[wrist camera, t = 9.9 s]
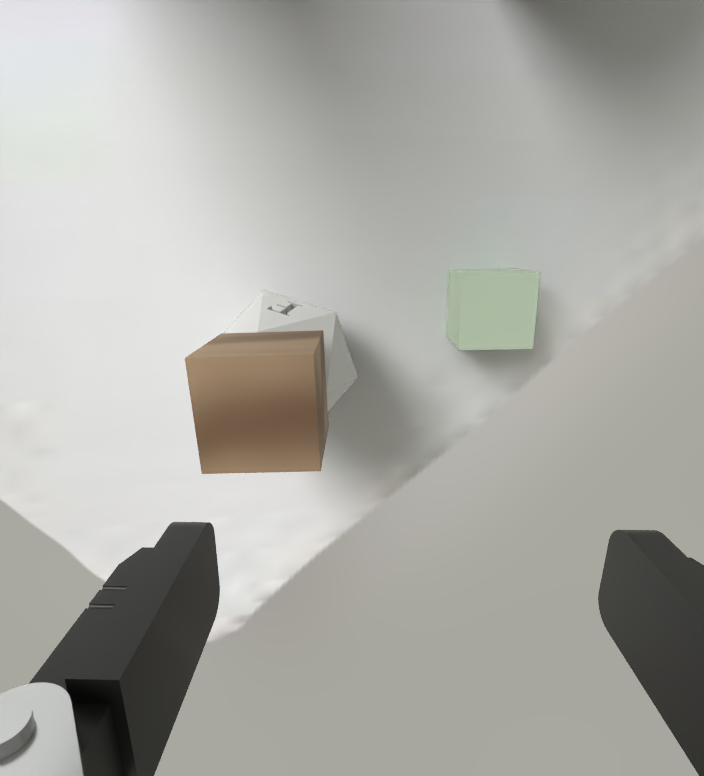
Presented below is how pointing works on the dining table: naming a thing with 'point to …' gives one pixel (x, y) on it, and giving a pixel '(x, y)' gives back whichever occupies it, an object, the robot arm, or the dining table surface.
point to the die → (298, 316)
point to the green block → (492, 308)
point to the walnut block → (260, 402)
